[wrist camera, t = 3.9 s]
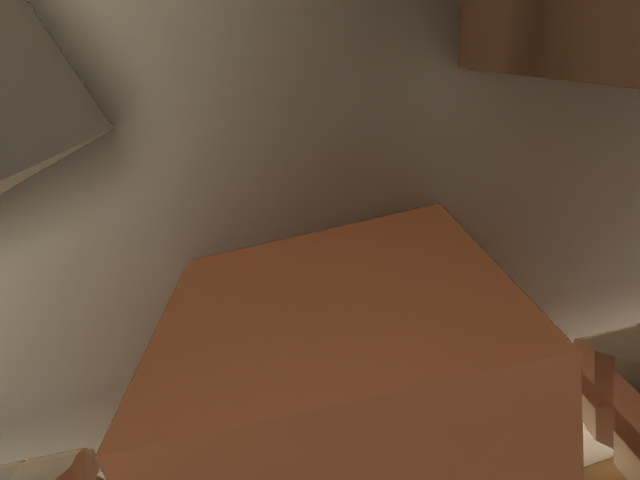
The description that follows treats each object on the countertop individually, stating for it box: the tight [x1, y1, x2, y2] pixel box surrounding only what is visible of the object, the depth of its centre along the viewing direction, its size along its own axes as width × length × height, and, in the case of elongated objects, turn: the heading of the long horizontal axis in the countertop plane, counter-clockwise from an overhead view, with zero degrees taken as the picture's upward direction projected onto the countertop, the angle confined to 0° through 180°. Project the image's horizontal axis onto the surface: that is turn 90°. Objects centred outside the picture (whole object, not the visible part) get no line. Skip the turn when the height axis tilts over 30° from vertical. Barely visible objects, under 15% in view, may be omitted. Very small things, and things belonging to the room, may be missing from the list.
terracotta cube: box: [95, 203, 584, 480], centre depth 8 cm, size 5×5×5 cm
